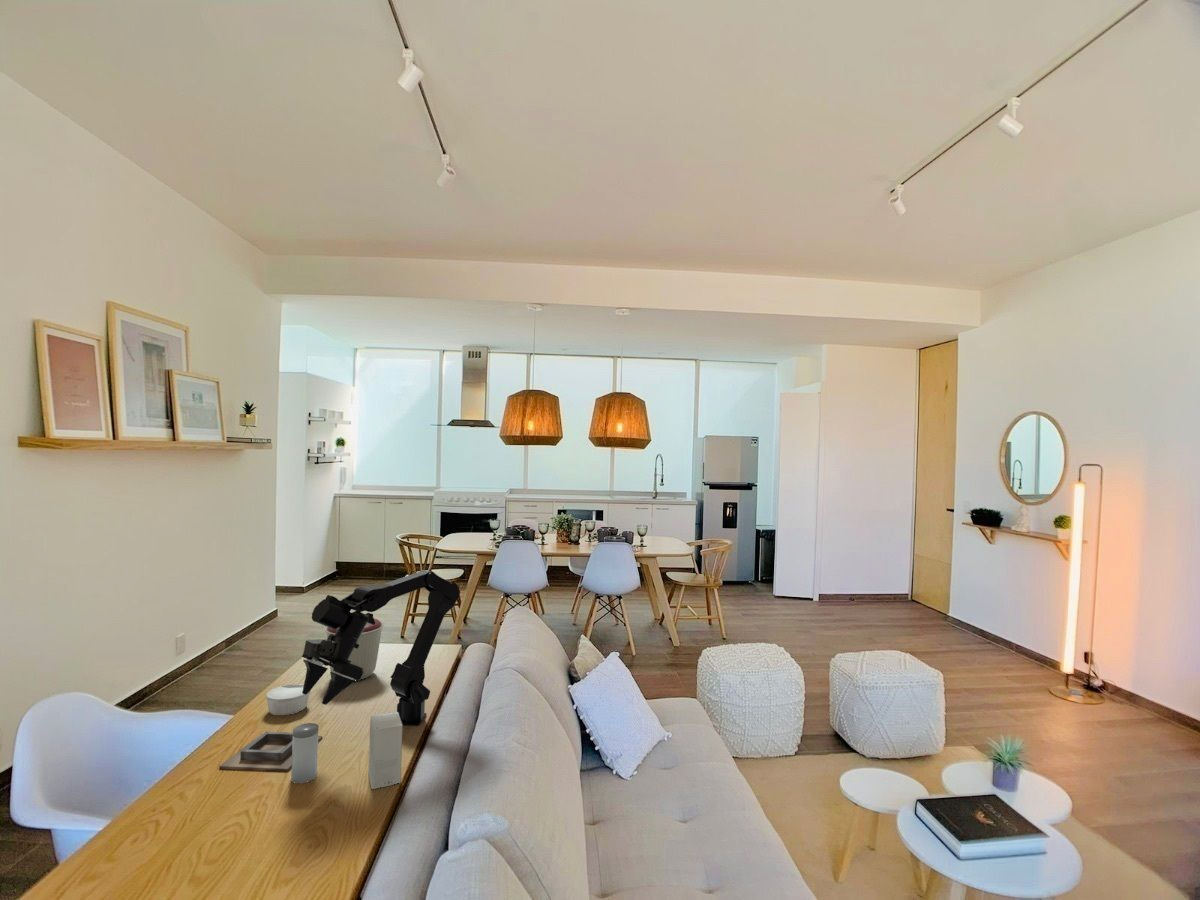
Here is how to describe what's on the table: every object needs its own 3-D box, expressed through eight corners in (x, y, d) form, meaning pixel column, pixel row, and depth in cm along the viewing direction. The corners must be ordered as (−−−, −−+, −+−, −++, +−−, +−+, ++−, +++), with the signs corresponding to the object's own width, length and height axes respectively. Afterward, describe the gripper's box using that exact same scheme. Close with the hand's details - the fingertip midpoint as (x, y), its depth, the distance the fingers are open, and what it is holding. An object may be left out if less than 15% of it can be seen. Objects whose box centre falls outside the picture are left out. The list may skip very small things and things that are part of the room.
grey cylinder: (321, 771, 134) (322, 723, 135) (309, 783, 129) (311, 734, 129) (299, 770, 134) (300, 722, 135) (286, 783, 129) (288, 733, 129)
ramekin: (312, 699, 173) (313, 681, 174) (306, 715, 163) (307, 696, 163) (270, 703, 170) (271, 685, 170) (261, 720, 159) (262, 701, 159)
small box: (401, 783, 130) (403, 725, 130) (370, 790, 127) (372, 730, 128) (396, 766, 137) (398, 710, 138) (368, 772, 135) (369, 715, 135)
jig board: (322, 738, 150) (322, 728, 150) (287, 771, 134) (287, 760, 134) (261, 735, 150) (261, 725, 150) (219, 768, 134) (219, 757, 134)
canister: (321, 690, 180) (324, 621, 181) (323, 670, 197) (325, 607, 197) (383, 682, 188) (385, 617, 188) (380, 663, 204) (382, 603, 204)
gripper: (301, 617, 146) (266, 680, 139) (342, 632, 135) (305, 701, 128) (337, 632, 154) (305, 692, 147) (378, 647, 143) (345, 713, 136)
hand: (313, 699), depth 139 cm, fingers open, 9 cm apart
